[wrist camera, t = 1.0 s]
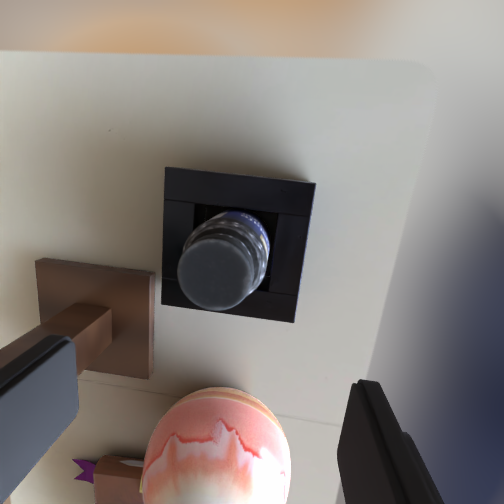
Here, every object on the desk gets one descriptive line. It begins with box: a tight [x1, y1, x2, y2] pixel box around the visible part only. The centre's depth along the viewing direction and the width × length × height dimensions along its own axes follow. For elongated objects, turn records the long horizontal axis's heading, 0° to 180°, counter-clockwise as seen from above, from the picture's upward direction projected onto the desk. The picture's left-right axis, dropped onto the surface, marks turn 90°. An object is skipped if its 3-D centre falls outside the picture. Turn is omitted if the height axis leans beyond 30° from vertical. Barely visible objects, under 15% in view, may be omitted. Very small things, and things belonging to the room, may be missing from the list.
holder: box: [161, 167, 316, 323], centre depth 27 cm, size 12×12×4 cm
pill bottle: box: [177, 208, 271, 311], centre depth 23 cm, size 6×6×11 cm
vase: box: [142, 387, 291, 504], centre depth 26 cm, size 14×14×18 cm
